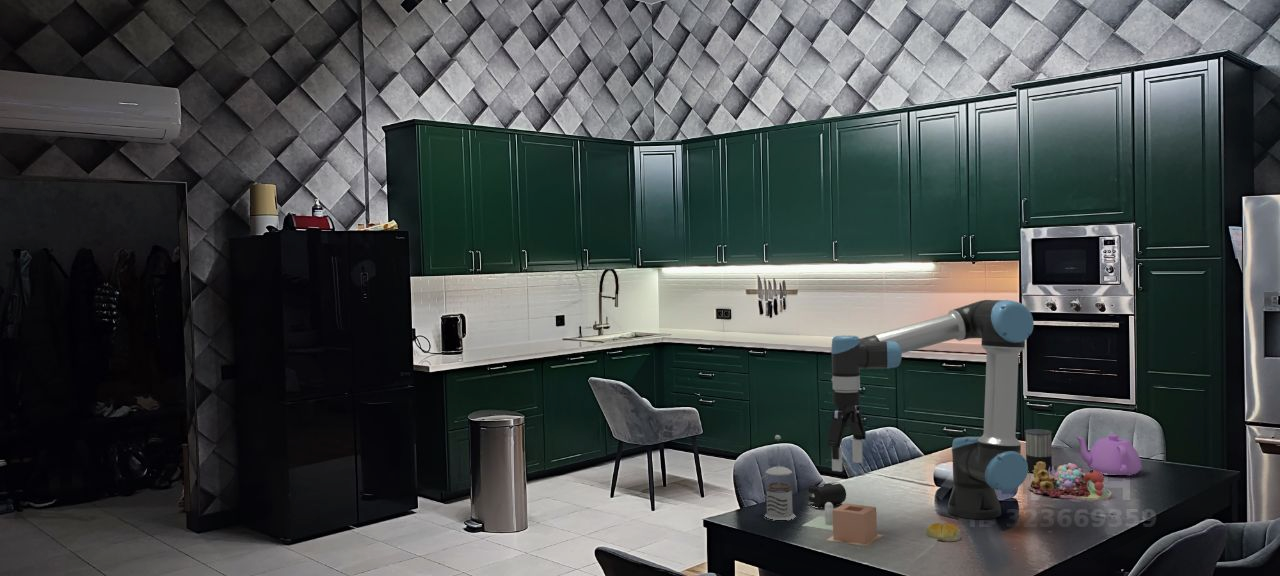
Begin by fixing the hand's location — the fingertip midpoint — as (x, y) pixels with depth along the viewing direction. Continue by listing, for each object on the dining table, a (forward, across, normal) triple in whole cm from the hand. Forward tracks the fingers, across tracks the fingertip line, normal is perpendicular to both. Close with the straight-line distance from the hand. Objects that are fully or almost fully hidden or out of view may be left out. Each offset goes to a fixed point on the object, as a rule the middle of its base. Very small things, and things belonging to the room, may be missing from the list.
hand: (847, 466), depth 256 cm
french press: (+20, -9, -28) cm, 35 cm away
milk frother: (+19, -111, +20) cm, 115 cm away
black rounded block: (+20, -28, -20) cm, 40 cm away
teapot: (+19, -120, +44) cm, 129 cm away
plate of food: (+19, -85, +39) cm, 96 cm away
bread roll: (+20, -12, +22) cm, 32 cm away
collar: (+19, +2, +3) cm, 19 cm away
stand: (+20, +2, +3) cm, 20 cm away
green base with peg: (+20, -8, -10) cm, 23 cm away
